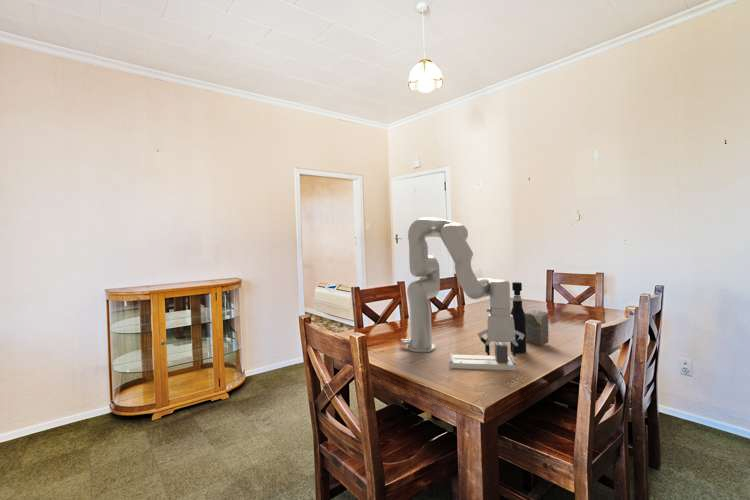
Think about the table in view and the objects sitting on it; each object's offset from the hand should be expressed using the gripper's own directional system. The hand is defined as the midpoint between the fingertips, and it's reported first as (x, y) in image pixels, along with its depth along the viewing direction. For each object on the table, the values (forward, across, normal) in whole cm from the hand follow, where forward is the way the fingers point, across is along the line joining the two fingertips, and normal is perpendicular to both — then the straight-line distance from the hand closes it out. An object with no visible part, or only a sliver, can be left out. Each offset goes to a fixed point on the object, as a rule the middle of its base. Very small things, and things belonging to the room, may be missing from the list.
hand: (501, 354), depth 141 cm
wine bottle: (+4, +10, +18) cm, 21 cm away
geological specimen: (+4, +20, +32) cm, 38 cm away
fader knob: (+2, 0, 0) cm, 2 cm away
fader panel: (+4, -8, 0) cm, 9 cm away
